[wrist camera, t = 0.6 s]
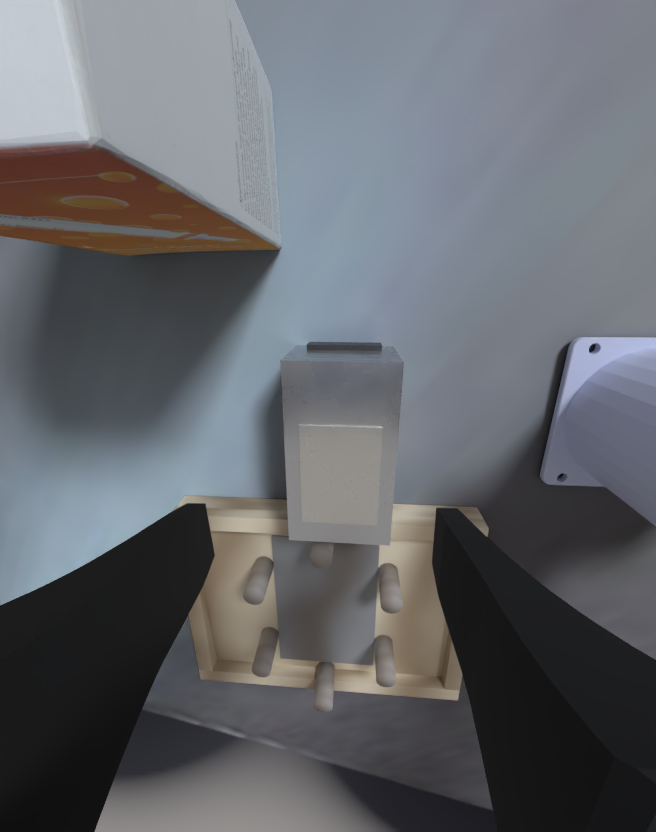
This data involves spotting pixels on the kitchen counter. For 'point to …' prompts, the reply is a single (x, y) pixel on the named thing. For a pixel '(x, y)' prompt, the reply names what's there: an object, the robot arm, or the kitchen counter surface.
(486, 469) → the kitchen counter surface
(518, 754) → the robot arm
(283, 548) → the tray
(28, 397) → the kitchen counter surface
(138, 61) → the small box
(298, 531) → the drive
